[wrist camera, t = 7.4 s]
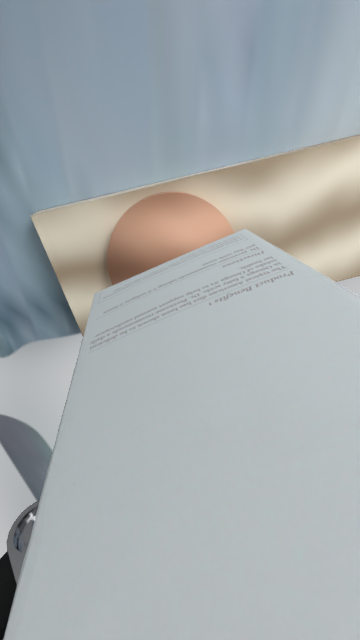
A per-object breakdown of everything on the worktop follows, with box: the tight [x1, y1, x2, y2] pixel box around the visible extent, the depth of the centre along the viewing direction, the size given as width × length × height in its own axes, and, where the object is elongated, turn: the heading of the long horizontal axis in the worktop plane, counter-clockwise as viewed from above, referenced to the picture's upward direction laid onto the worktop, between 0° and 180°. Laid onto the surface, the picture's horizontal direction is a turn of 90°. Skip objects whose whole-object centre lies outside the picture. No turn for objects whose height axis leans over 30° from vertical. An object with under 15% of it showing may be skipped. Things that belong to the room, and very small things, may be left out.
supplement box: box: [3, 229, 360, 640], centre depth 9 cm, size 7×7×13 cm
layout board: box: [31, 135, 360, 336], centre depth 24 cm, size 11×26×3 cm, turn 102°
